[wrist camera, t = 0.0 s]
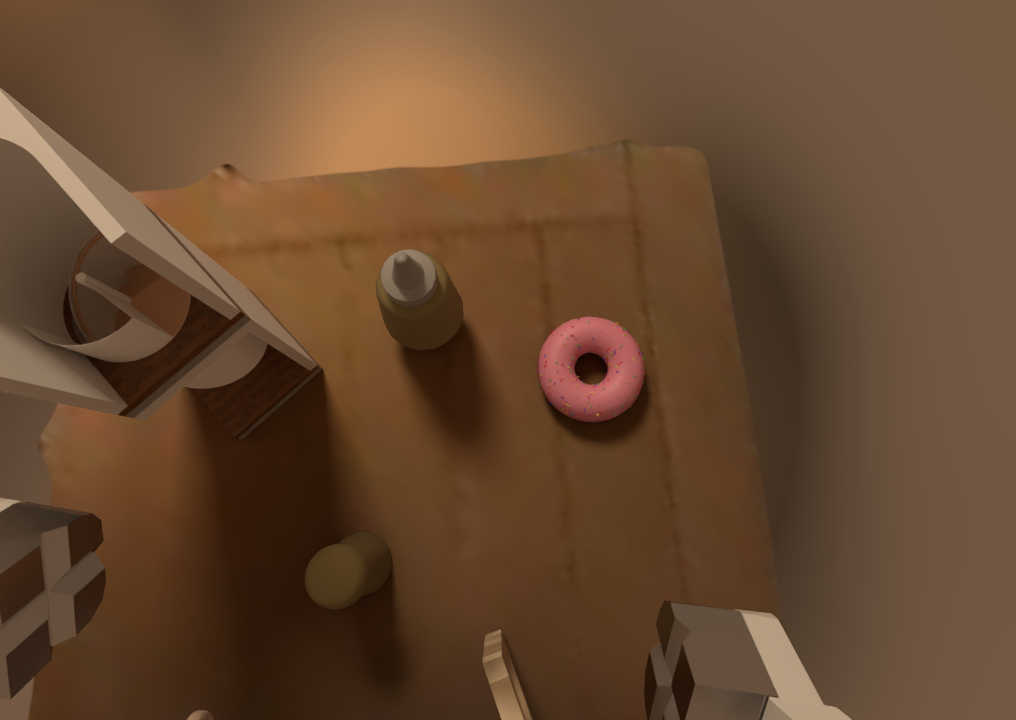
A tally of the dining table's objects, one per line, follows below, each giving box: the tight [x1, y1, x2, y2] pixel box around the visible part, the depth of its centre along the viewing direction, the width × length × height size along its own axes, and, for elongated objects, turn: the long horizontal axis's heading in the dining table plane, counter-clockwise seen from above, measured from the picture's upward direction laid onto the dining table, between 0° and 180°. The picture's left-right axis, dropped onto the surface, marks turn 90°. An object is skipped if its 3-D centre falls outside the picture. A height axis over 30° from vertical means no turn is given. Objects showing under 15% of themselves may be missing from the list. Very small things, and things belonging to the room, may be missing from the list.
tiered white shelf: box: [0, 88, 322, 440], centre depth 48 cm, size 11×11×35 cm
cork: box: [305, 532, 392, 610], centre depth 55 cm, size 6×6×11 cm
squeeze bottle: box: [376, 250, 463, 350], centre depth 57 cm, size 8×8×18 cm
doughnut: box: [537, 316, 646, 422], centre depth 63 cm, size 11×11×4 cm
